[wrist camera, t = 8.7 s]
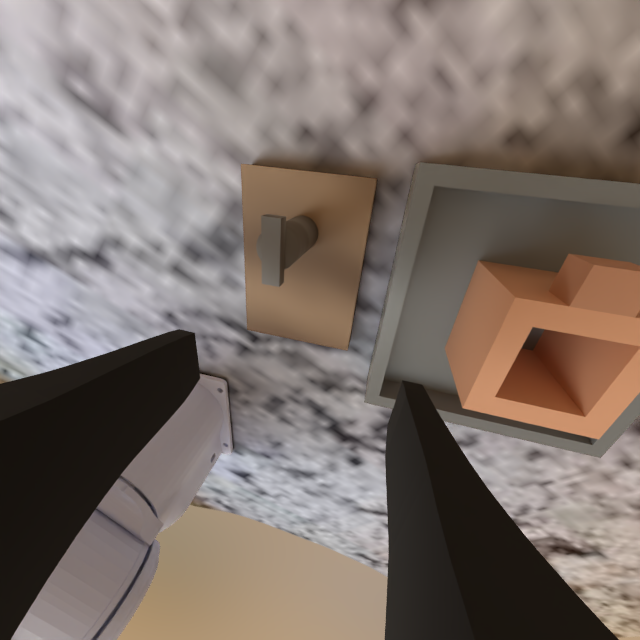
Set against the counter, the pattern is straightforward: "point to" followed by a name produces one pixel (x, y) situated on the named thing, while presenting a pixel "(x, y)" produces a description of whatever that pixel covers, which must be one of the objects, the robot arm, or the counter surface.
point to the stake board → (316, 269)
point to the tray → (497, 247)
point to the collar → (550, 343)
